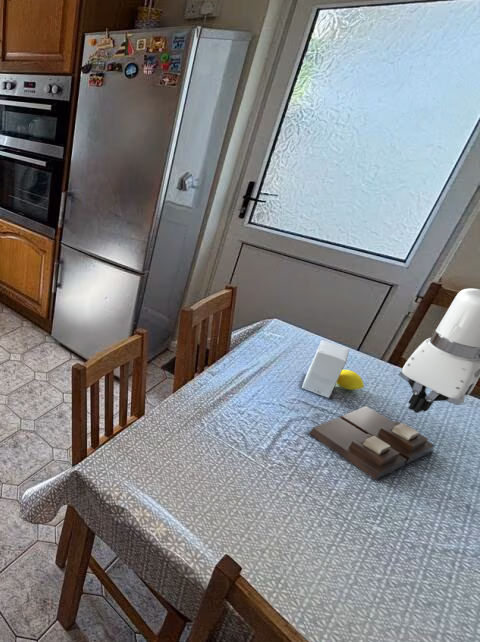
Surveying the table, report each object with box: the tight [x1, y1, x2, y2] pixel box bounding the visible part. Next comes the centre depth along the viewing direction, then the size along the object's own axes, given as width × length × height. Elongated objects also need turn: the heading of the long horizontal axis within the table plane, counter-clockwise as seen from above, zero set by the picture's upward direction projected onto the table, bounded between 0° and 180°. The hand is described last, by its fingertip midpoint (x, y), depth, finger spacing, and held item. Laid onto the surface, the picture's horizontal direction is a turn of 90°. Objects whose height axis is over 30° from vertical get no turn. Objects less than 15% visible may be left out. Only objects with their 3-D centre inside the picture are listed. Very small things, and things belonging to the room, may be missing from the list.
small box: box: [301, 339, 350, 399], centre depth 117 cm, size 8×6×13 cm
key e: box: [363, 436, 390, 455], centre depth 95 cm, size 3×3×2 cm
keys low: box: [340, 405, 435, 465], centre depth 102 cm, size 14×10×4 cm
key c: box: [392, 422, 420, 441], centre depth 98 cm, size 3×3×2 cm
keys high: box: [309, 416, 407, 480], centre depth 99 cm, size 14×10×4 cm
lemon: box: [336, 369, 365, 391], centre depth 118 cm, size 7×5×5 cm
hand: (416, 409), depth 96 cm, fingers closed
